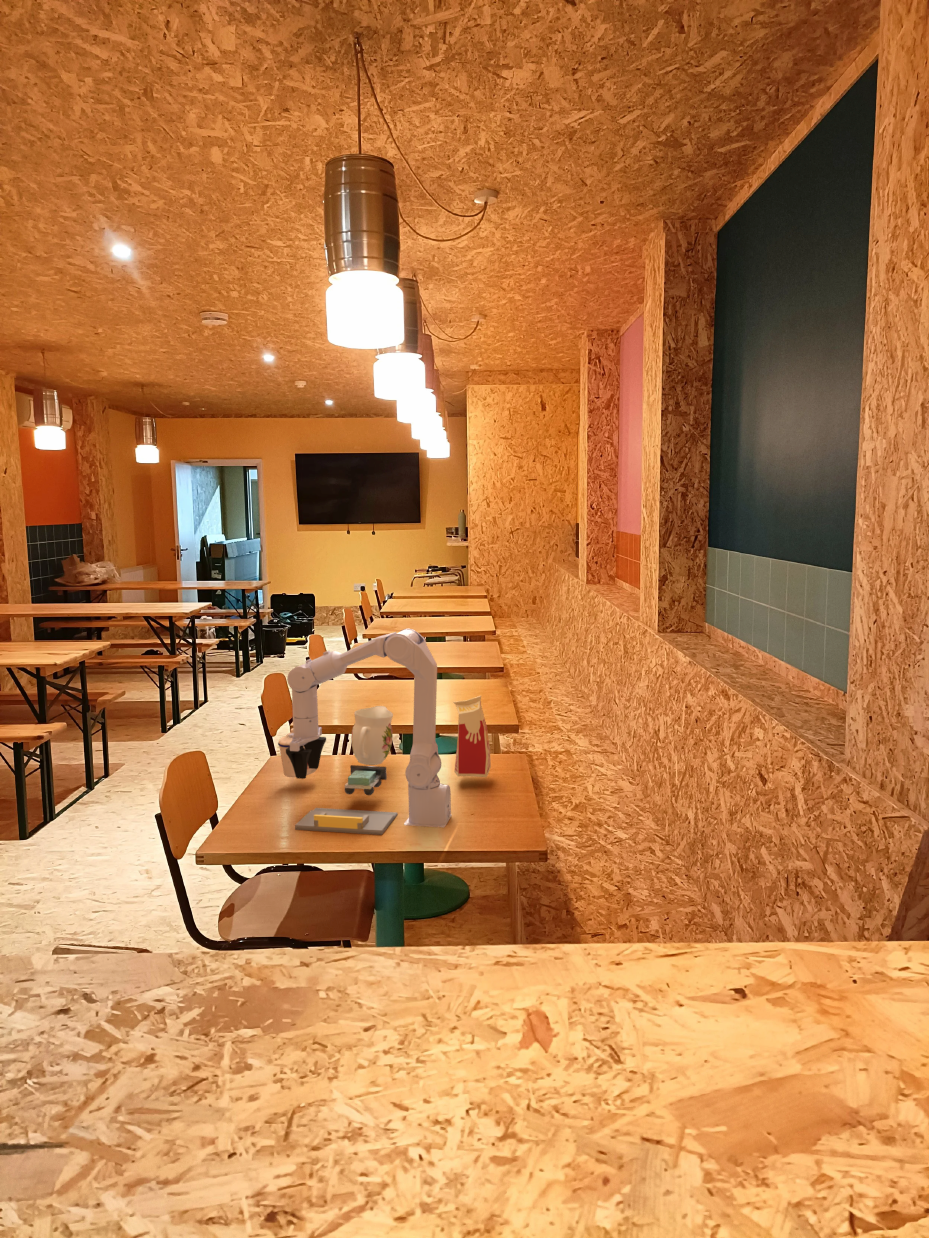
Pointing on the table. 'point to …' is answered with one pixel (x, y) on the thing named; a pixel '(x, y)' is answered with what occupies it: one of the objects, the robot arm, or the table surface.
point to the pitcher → (372, 735)
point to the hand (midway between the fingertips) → (307, 773)
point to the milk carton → (472, 740)
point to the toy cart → (365, 778)
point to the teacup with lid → (286, 762)
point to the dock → (346, 821)
